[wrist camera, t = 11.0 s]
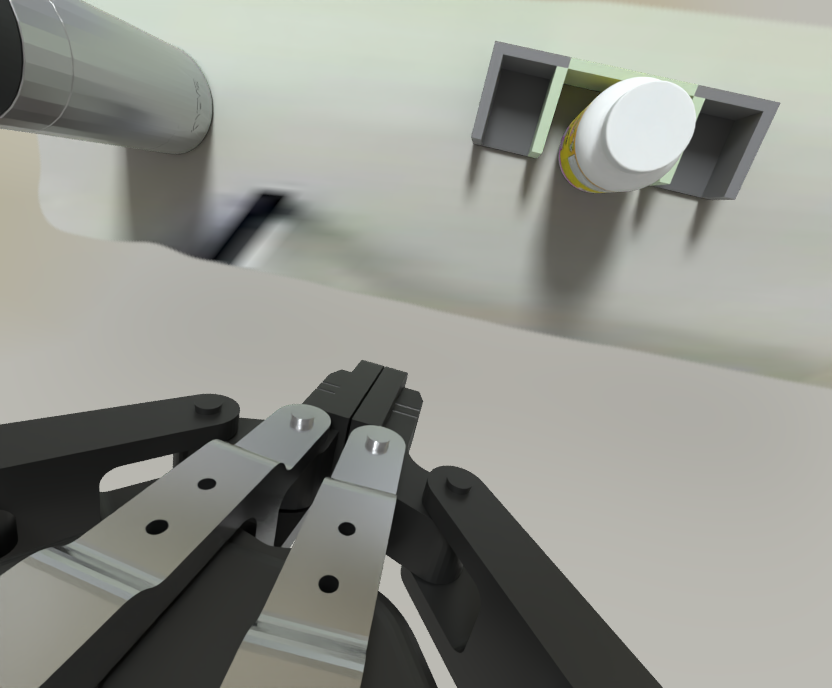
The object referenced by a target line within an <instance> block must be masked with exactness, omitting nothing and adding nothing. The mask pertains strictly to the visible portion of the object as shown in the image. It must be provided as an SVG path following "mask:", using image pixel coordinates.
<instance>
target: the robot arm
mask: <svg viewBox="0 0 832 688" xmlns="http://www.w3.org/2000/svg"><path fill="white" fill-rule="evenodd" d="M211 117H212V98H211V93H210V88H209V86H208V83H207V80H206V78H205V76H204V74H203V72H202V71H201V69H200V67H199V66H198V65H197V63H196V62H195V61H194V60H193V59H192V58H191V57H190V56H189V55H188V54H186V53H185V52H184V51H183V50H181V49H179V48H177V47H175V46H173V45H171V44H169V43H167V42H165V41H163V40H161V39H159V38H157V37H155V36H153V35H151V34H149V33H147V32H145V31H143V30H141V29H139V28H137V27H135V26H133V25H131V24H129V23H127V22H125V21H123V20H121V19H119V18H117V17H115V16H113V15H110V14H108V13H106V12H104V11H102V10H100V9H98V8H96V7H94V6H92V5H90V4H88V3H86V2H84V1H82V0H0V128H1V129H7V130H14V131H22V132H29V133H35V134H42V135H49V136H55V137H62V138H69V139H75V140H82V141H89V142H95V143H102V144H109V145H115V146H122V147H129V148H135V149H141V150H148V151H155V152H161V153H168V154H181V153H185V152H188V151H190V150H192V149H193V148H195V147H196V146H197V145H198V144H199V143H200V142H201V141H202V140H203V139H204V137H205V135H206V134H207V132H208V129H209V126H210V123H211ZM407 375H408V373H407V372H403V371H400V370H396V369H393V368H389V367H385V368H384V366H382V365H378V364H375V363H371V362H367V361H364V360H361V362H360V363H359V364H358V365H357V367H356V368H355V369H354V370H353V371H352V372H348V371H345V370H339V371H337V372H334V373H331V374H330V375H328V376H327V377H326V379H325V380H324V381H323V383H321V384H320V385H319V386H318V387H317V389H315V390H314V391H313V392H312V394H311V395H310V396H309V397H308V398H307V399H306V400H305V401H304V402H303V403H302V404H292V405H287V406H284V407H281V408H280V409H278V410H277V411H275V412H274V413H273V414H272V415H271V416H269V417H268V418H267V419H266V420H259V419H248V418H239V413H240V407H239V405H238V403H237V402H236V401H234V400H233V399H231V398H229V397H226V396H223V395H217V394H200V395H193V396H187V397H179V398H173V399H166V400H160V401H153V402H146V403H140V404H133V405H127V406H120V407H113V408H108V409H100V410H94V411H87V412H81V413H75V414H67V415H61V416H54V417H47V418H41V419H34V420H28V421H21V422H14V423H8V424H2V425H0V688H438V687H437V685H436V683H435V680H434V678H433V676H432V674H431V672H430V669H429V667H428V665H427V662H426V660H425V658H424V656H423V654H422V651H421V649H420V647H419V644H418V642H417V640H416V638H415V636H414V634H413V632H412V630H411V628H410V627H409V625H408V623H407V622H406V620H405V619H404V617H403V616H402V614H401V613H400V612H399V610H398V609H397V608H396V607H395V606H394V605H393V604H392V603H391V601H390V600H389V599H388V598H386V597H385V596H384V595H383V594H382V593H380V592H379V591H378V589H379V584H380V579H381V574H382V569H383V564H384V559H385V554H386V555H387V556H389V557H391V558H392V559H393V560H395V561H396V562H398V563H399V564H401V565H402V566H401V578H402V581H403V583H404V585H405V587H406V589H407V591H408V593H409V595H410V597H411V599H412V601H413V603H414V605H415V606H416V608H417V610H418V612H419V614H420V616H421V618H422V620H423V622H424V624H425V626H426V628H427V630H428V632H429V634H430V636H431V638H432V640H433V642H434V643H435V645H436V647H437V649H438V651H439V653H440V655H441V657H442V659H443V661H444V663H445V665H446V667H447V669H448V671H449V673H450V675H451V676H452V678H453V680H454V682H455V684H456V686H457V688H662V686H661V685H660V684H659V683H658V682H657V680H656V679H655V678H654V677H653V676H652V675H651V674H650V673H649V671H648V670H647V669H646V668H645V667H644V666H643V664H642V663H641V662H640V661H639V660H638V659H637V658H636V656H635V655H634V654H633V653H632V652H631V651H630V650H629V649H628V647H627V646H626V645H625V644H624V643H623V642H622V640H621V639H620V638H619V637H618V636H617V635H616V634H615V633H614V631H613V630H612V629H611V628H610V627H609V626H608V625H607V623H606V622H605V621H604V620H603V619H602V618H601V617H600V615H599V614H598V613H597V612H596V611H595V610H594V609H593V607H592V606H591V605H590V604H589V603H588V602H587V601H586V599H585V598H584V597H583V596H582V595H581V594H580V593H579V591H578V590H577V589H576V588H575V587H574V586H573V585H572V583H571V582H570V581H569V580H568V579H567V578H566V577H565V575H564V574H563V573H562V572H561V571H560V570H559V569H558V567H557V566H556V565H555V564H554V563H553V562H552V561H551V560H550V558H549V557H548V556H547V555H546V554H545V553H544V551H543V550H542V549H541V548H540V547H539V546H538V545H537V543H536V542H535V541H534V540H533V539H532V538H531V537H530V536H529V534H528V533H527V532H526V531H525V530H524V529H523V528H522V527H521V525H520V524H519V523H518V522H517V521H516V520H515V519H514V517H513V516H512V515H511V514H510V513H509V512H508V510H507V509H506V508H505V507H504V506H503V505H502V504H501V502H500V501H499V500H498V499H497V498H496V497H495V496H494V495H493V493H492V492H491V491H490V490H489V489H488V488H487V486H486V485H485V484H484V483H483V482H482V481H481V480H480V479H479V478H478V477H477V476H475V475H474V474H472V473H471V472H469V471H467V470H465V469H462V468H459V467H455V466H440V467H437V468H435V469H433V470H432V471H431V472H428V471H426V470H424V469H423V468H421V467H420V466H419V465H417V464H416V463H415V462H414V461H413V460H412V458H411V457H410V455H409V450H410V447H411V444H412V440H413V437H414V433H415V429H416V425H417V422H418V418H419V414H420V411H421V407H422V403H423V400H422V398H421V395H420V393H419V392H418V391H414V390H411V389H408V388H405V384H406V380H407ZM170 454H173V469H172V470H171V471H169V472H168V473H166V474H165V475H164V476H163V477H161V478H158V479H154V480H151V481H147V482H143V483H139V484H135V485H131V486H128V487H124V488H120V489H116V490H112V491H108V492H99V483H100V480H101V479H102V477H103V476H104V475H105V474H106V473H107V472H109V471H110V470H112V469H114V468H116V467H119V466H123V465H127V464H131V463H136V462H140V461H144V460H149V459H152V458H157V457H162V456H165V455H170ZM295 539H296V540H295ZM294 541H295V542H294ZM293 542H294V544H293ZM292 544H293V546H292V548H290V547H291V545H292Z"/></svg>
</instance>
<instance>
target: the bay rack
mask: <svg viewBox="0 0 832 688" xmlns="http://www.w3.org/2000/svg"><path fill="white" fill-rule="evenodd" d="M634 77H652V78H656V79H659V80H662V81H668V82H672V83H674V84H677V85H678V86H680V87H681V88H683V89H684V90H685V91H686V92H687V93H688V95H689V96H690V97H691V99H692V101H693V104H694V107H695V112H696V123H695V129H694V133H693V136H692V138H691V140H690V142H689V144H688V145H687V147H686V149H685V150H684V151H683V152H682V154H681V156H680V158H679V160H678V161H677V162H676V164H675V165H674V166H673V167H672V168H671V170H670V171H669V172H668V173H666V174H665V175H664V176H663V177H662V178H660V179H659V180H657V181H656V182H654V183H653V184H651V185H650V186H654V187H658V188H662V189H666V190H671V191H675V192H679V193H683V194H687V195H692V196H696V197H700V198H704V199H708V200H735V198H736V196H737V194H738V192H739V190H740V188H741V186H742V184H743V181H744V179H745V177H746V175H747V173H748V171H749V169H750V167H751V164H752V162H753V160H754V158H755V156H756V154H757V152H758V150H759V148H760V145H761V143H762V141H763V139H764V137H765V135H766V133H767V131H768V128H769V126H770V124H771V122H772V120H773V118H774V116H775V114H776V111H777V109H778V107H779V105H780V103H779V102H775V101H770V100H765V99H761V98H756V97H752V96H747V95H742V94H738V93H733V92H729V91H724V90H719V89H715V88H710V87H706V86H701V85H696V84H692V83H687V82H682V81H678V80H673V79H669V78H664V77H659V76H655V75H650V74H646V73H641V72H636V71H632V70H627V69H623V68H618V67H613V66H609V65H604V64H600V63H595V62H590V61H586V60H581V59H577V58H572V57H567V56H563V55H558V54H553V53H549V52H544V51H540V50H535V49H530V48H526V47H521V46H517V45H512V44H507V43H503V42H498V41H495V44H494V48H493V52H492V56H491V60H490V64H489V68H488V72H487V76H486V80H485V84H484V88H483V92H482V96H481V100H480V104H479V108H478V112H477V116H476V120H475V124H474V128H473V132H472V136H471V138H472V141H473V144H477V145H481V146H486V147H490V148H494V149H498V150H502V151H507V152H511V153H515V154H519V155H524V156H528V157H532V158H536V159H537V158H538V157H539V156H540V155H541V154H542V151H543V148H544V145H545V142H546V138H547V135H548V132H549V129H550V125H551V122H552V119H553V116H554V112H555V109H556V106H557V103H558V99H559V96H560V93H561V90H562V86H563V84H568V85H572V86H577V87H581V88H586V89H590V90H595V91H599V92H603V91H604V90H606V89H607V88H609V87H610V86H612V85H614V84H616V83H618V82H620V81H623V80H626V79H629V78H634Z"/></svg>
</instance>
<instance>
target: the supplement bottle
mask: <svg viewBox="0 0 832 688" xmlns="http://www.w3.org/2000/svg"><path fill="white" fill-rule="evenodd" d="M695 123H696V112H695V107H694V104H693V101H692V99H691V97H690V96H689V95H688V93H687V92H686V91H685V90H684V89H683V88H681V87H680V86H678V85H677V84H674V83H672V82H668V81H662V80H659V79H656V78H652V77H634V78H629V79H626V80H623V81H620V82H618V83H616V84H614V85H612V86H610V87H609V88H607V89H606V90H604V91H603V92H602V93H601V94H600V95H598V96H597V97H596V98H595V99H594V100H593V101H592V102H591V103H590V104H589V105H588V106H587V107H586V108H585V109H584V110H583V111H582V112H581V113H580V114H579V115H578V116H577V117H576V118H575V119H574V120H573V121H572V122H571V124H570V125H569V126H568V128H567V129H566V131H565V133H564V135H563V137H562V140H561V143H560V147H559V165H560V168H561V171H562V173H563V175H564V177H565V178H566V180H567V181H568V182H569V183H570V184H571V185H572V186H574V187H575V188H577V189H579V190H581V191H584V192H589V193H609V192H627V191H633V190H638V189H641V188H644V187H646V186H648V185H651V184H653V183H654V182H656V181H657V180H659V179H660V178H662V177H663V176H664V175H665V174H666V173H668V172H669V171H670V170H671V168H672V167H673V166H674V165H675V164H676V162H677V161H678V160H679V158H680V156H681V154H682V152H683V151H684V150H685V149H686V147H687V145H688V144H689V142H690V140H691V138H692V136H693V133H694V129H695Z"/></svg>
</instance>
